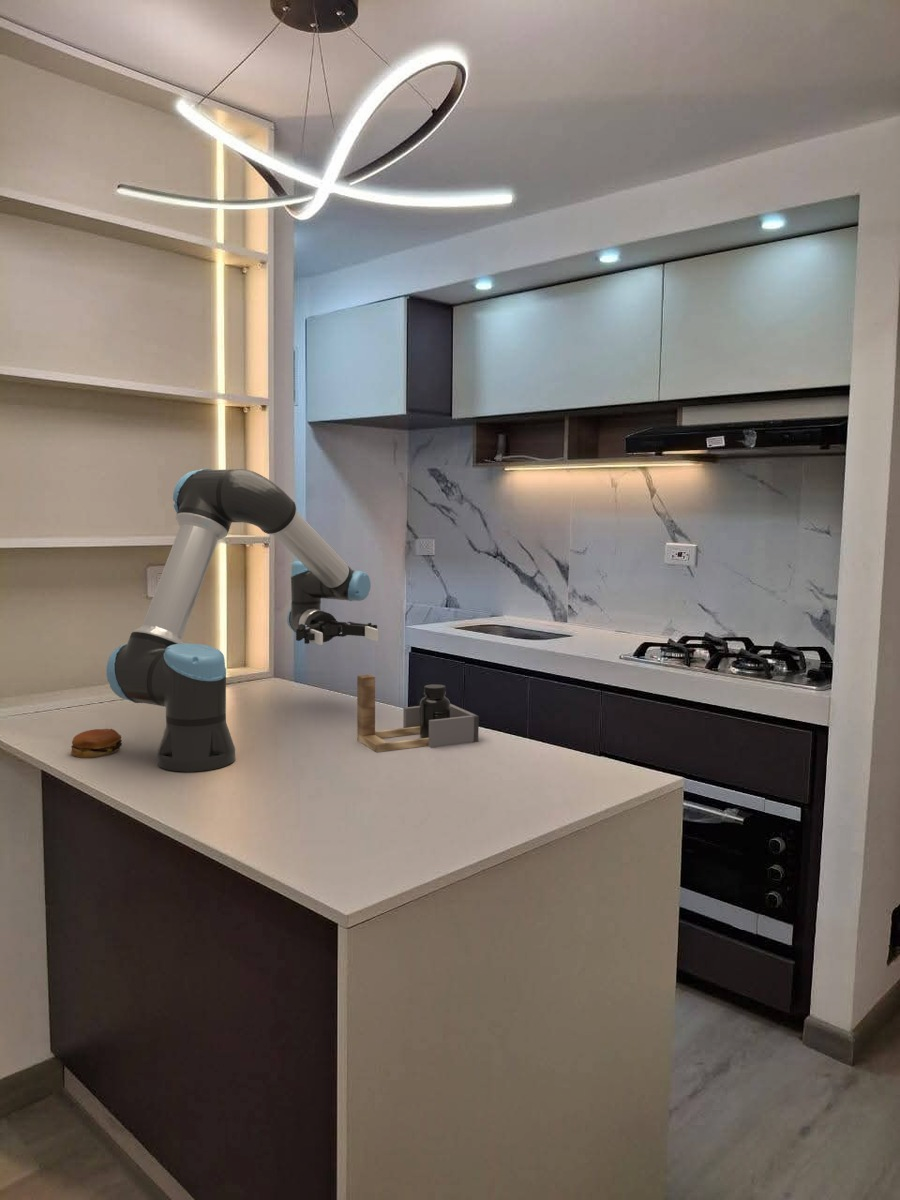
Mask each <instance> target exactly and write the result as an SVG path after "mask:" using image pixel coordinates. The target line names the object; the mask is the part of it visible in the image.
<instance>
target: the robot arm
mask: <svg viewBox="0 0 900 1200" xmlns="http://www.w3.org/2000/svg"><path fill="white" fill-rule="evenodd" d="M172 494H173V495H172V501H173V502H174V503H173V508H174V510H175V512H176V516H175V520H176V523H178V526H179V527H178V530H177V533H176V535H175V537H174V538H175V539H174V541H173V544H172V547H171V549H170V552H169V555H168V557H167V560H166V562H165V564H164V567H163V569H162V573H161V575H160V578H159V581H158V583H157V586H156V588H155V592H154V594H153V596H152V598H151V601H150V604H149V607H148V610H147V612H146V615H145V618H144V620H143V622H142V625H141V626H140V627H139V628H136V629H134V630H132V631H131V633H130V636H129V638H128V641H127V643H126V644H122V645H120V646H119V647H118V648H115V649H114V650H113V651H112V652H111V653H110V656H109V657H108V659H107V664H106V669H105V671H106V679H107V682H108V683H109V687H110V689H111V690H112V692H113V693H114V695H116V696H117V697H119V698H121V699H123V700H126V701H129V702H132V703H135V704H147V705H153V706H159V707H165V721H166V722H165V728H164V732H163V735H162V738H161V742H160V744H159V748H158V752H157V765H158V767H160V768H161V769H164V770H168V771H174V772H186V773H187V772H202V771H203V772H206V771H211V770H215V769H220V768H223V767H227V766H229V765H231V764H233V763H234V762H235V761H236V747H235V744H234V741H233V738H232V735H231V733H230V729H229V727H228V725H227V668H226V661H225V656H224V654H223V652H222V651H221V650H220V649H218V648H216V647H213V646H210V645H206V644H202V643H201V644H200V643H191V642H189V643H188V642H186V643H184V642H183V637H184V635H185V632H186V629H187V626H188V624H189V622H190V618H191V616H192V613H193V609H194V607H195V604H196V601H197V599H198V596H199V593H200V591H201V588H202V586H203V582H204V580H205V577H206V574H207V572H208V568H209V566H210V563H211V560H212V558H213V555H214V551H215V550H216V547H217V544H218V541H219V540H222V539H225V538H227V536H228V535H229V531H230V529H231V526H232V523H245V524H249V525H252V526H255V527H257V528H259V529H260V530H261V531H262V532H263V533H265V534H266V535H272V536H273V537H274V538H275V539H277V541H279V542H280V543H281V544H282V545H283V546H284V547H285V549H287V550H288V551H289V552H290V553H291V554H292V555H293V556H294V557H295V558H296V559H298V560H294V561H293V562H292V563H291V571H290V572H291V573H290V574H291V575H290V592H291V595H290V596H291V598H290V599H291V603H290V605H291V607H290V609H289V611H288V612H287V615H286V623H287V626H288V627H289V628H290V629H291V631H293V632H294V633H295V640H296V642H297V641H298V642H300V641H302V640H303V639H304V641H303V643H304V644H307V645H308V644H310V643H311V642H312V643H314V644H317V645H318V646H323V645H324V643H327V642H329V641H331V640H333V638H335V637H342V638H343V637H347V636H355V637H364V638H365V639H368V640H371V641H373V642H379V641H380V640H379V639H380V637H379V636H380V635H379V633H380V632H379V629H378V625H377V624H372V623H371V622H368V623H359V622H353V621H347V622H346V621H338V620H337V619H336V618H335V616H334V615H333V614H331V613H329V612H328V611H327V612H326V611H324V610H321V609H322V608H321V605H322V604H321V603H322V600H321V599H327V600H339V601H349V602H353V601H354V602H355V601H357V602H358V601H364V600H365V599H366V598H367V597H368V595H369V593H370V591H371V584H372V583H371V578H370V576H369V575H368V573H367V572H365V571H362V570H357V569H356V570H353V569H352V568H351V567H350V566H349V565H348V564H347V563H346V562H345V561H344V560H343V558H342V557H341V556H339V555H338V553H337V552H336V551H335V550H334V549H333V548H332V547H331V546H330V545H329V543H327V541H325V540H324V538H323V537H322V536H321V535H320V534H319V533H318V532H317V531H316V530H315V529H314V528H313V527H312V525H310V524H309V523H308V522H307V520H306V519H305V518H304V517H303V516H302V515H301V514H300V513H299V512H298V511H297V509H298V508H297V504H296V502H295V501H294V500H293V499H292V498H291V497H290V496H289V494H287V493H286V492H285V491H284V490H283V489H282V488H281V487H280V486H278V485H277V484H275V483H274V482H273V481H272V480H270V479H269V478H267V477H265V476H263V475H261V474H259V473H258V472H255V471H253V470H249V469H244V468H236V469H233V468H232V469H211V468H202V469H197V470H193V471H192V470H191V471H189V472H187V473H185V474H184V475H182V476H181V478H180V479H179V480H178V481H177V483H176V485H175V487H174V491H173V493H172Z"/></svg>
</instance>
